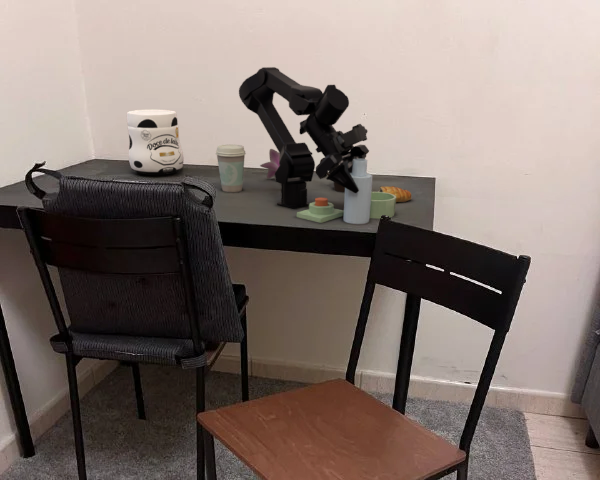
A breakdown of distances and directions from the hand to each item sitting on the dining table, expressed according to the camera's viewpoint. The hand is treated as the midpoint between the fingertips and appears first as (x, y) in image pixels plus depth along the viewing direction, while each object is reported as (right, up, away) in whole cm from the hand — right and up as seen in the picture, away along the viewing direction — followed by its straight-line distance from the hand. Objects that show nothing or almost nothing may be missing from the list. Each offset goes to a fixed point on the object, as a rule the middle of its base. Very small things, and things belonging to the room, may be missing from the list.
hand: (363, 189), depth 150 cm
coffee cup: (-36, +10, +31) cm, 49 cm away
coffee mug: (-3, +12, +35) cm, 37 cm away
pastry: (+10, +5, +24) cm, 26 cm away
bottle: (-1, -6, +5) cm, 8 cm away
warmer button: (-10, -2, +6) cm, 12 cm away
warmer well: (+4, -3, +11) cm, 12 cm away
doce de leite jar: (-62, +23, +51) cm, 83 cm away
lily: (-22, +17, +43) cm, 51 cm away
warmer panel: (-10, -4, +8) cm, 13 cm away
